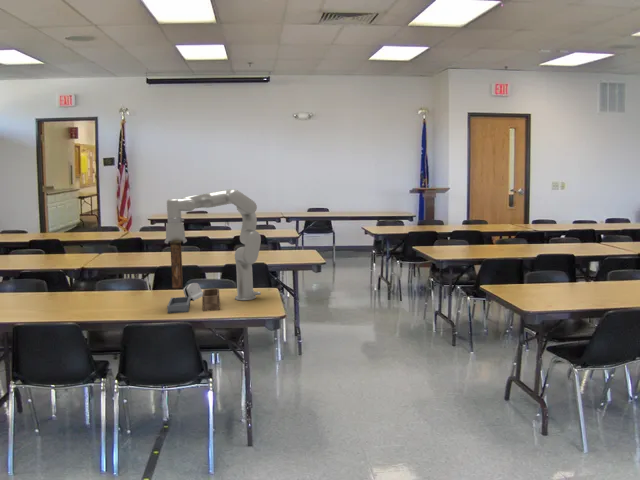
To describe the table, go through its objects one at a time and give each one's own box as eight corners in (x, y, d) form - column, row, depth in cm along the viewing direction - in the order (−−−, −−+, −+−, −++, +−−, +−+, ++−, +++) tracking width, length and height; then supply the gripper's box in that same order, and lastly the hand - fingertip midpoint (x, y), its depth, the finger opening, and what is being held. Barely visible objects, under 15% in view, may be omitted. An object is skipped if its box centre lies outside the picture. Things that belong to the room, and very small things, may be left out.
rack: (219, 301, 326) (219, 288, 325) (219, 309, 306) (218, 295, 305) (204, 302, 325) (203, 289, 324) (203, 310, 304) (202, 296, 303)
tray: (190, 303, 324) (190, 296, 323) (188, 312, 302) (187, 305, 302) (171, 304, 322) (170, 297, 321) (167, 313, 300) (167, 306, 300)
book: (182, 288, 303) (180, 243, 300) (172, 288, 302) (170, 243, 299) (182, 282, 319) (180, 240, 316) (173, 283, 318) (171, 240, 315)
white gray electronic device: (193, 300, 331) (187, 285, 330) (187, 303, 332) (181, 287, 331) (205, 294, 347) (199, 280, 346) (198, 297, 348) (193, 282, 348)
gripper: (189, 219, 311) (191, 252, 313) (160, 221, 309) (162, 253, 311) (188, 220, 304) (190, 253, 306) (159, 222, 301) (161, 255, 303)
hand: (176, 253), depth 308 cm, fingers closed on book
